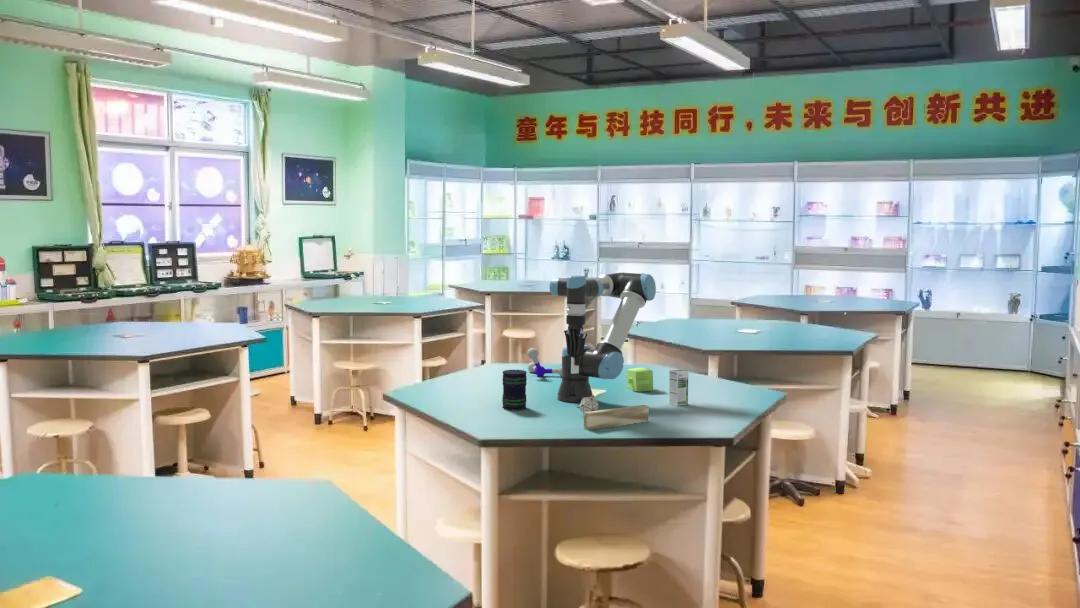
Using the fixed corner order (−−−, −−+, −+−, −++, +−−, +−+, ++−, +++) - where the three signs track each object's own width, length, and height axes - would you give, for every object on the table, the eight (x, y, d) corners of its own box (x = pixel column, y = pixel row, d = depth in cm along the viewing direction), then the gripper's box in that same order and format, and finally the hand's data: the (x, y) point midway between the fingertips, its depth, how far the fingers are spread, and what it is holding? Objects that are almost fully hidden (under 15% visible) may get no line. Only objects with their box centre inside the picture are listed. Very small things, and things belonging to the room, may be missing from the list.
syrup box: (676, 406, 361) (677, 371, 360) (668, 403, 367) (669, 369, 365) (688, 405, 364) (689, 370, 363) (679, 402, 369) (680, 368, 368)
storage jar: (518, 411, 347) (518, 374, 346) (497, 408, 352) (497, 372, 351) (530, 407, 356) (531, 371, 355) (510, 404, 361) (510, 368, 359)
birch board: (583, 428, 320) (583, 412, 319) (643, 420, 334) (643, 404, 334) (588, 430, 317) (588, 413, 316) (648, 421, 332) (648, 406, 331)
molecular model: (569, 379, 422) (569, 349, 420) (526, 379, 422) (527, 348, 421) (568, 372, 443) (568, 343, 442) (527, 371, 443) (528, 342, 442)
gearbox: (619, 387, 405) (619, 367, 404) (639, 385, 408) (638, 365, 407) (635, 394, 388) (635, 373, 387) (656, 391, 391) (655, 371, 390)
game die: (592, 426, 340) (598, 409, 333) (572, 417, 341) (578, 400, 335) (599, 411, 346) (605, 394, 340) (579, 402, 348) (585, 385, 341)
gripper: (558, 313, 349) (557, 371, 351) (577, 316, 338) (576, 376, 340) (574, 312, 353) (573, 370, 355) (593, 315, 342) (591, 374, 344)
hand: (574, 373), depth 348 cm, fingers closed
